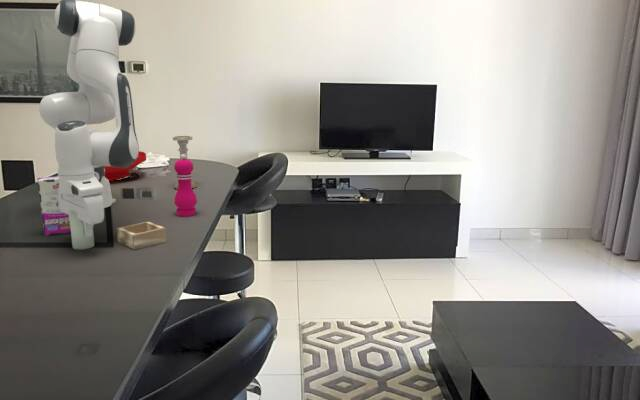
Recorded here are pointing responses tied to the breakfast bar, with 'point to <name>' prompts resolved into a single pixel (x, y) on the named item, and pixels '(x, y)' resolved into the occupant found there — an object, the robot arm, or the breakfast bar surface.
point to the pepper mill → (184, 188)
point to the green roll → (79, 233)
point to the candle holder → (183, 151)
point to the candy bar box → (52, 207)
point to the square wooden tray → (141, 235)
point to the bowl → (118, 173)
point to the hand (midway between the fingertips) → (82, 233)
